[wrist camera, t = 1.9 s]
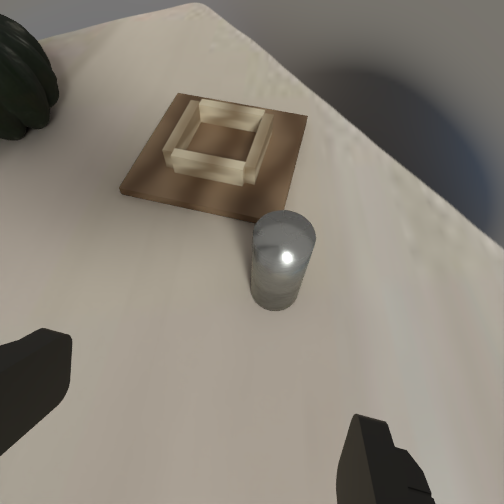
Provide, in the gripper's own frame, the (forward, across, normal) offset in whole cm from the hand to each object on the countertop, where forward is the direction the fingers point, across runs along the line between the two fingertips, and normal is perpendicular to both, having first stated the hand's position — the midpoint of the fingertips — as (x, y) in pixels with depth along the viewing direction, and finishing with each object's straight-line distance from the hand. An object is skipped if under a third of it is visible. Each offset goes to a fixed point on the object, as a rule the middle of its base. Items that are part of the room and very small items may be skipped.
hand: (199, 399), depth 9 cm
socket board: (+34, +10, -7) cm, 36 cm away
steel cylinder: (+22, 0, +4) cm, 23 cm away
